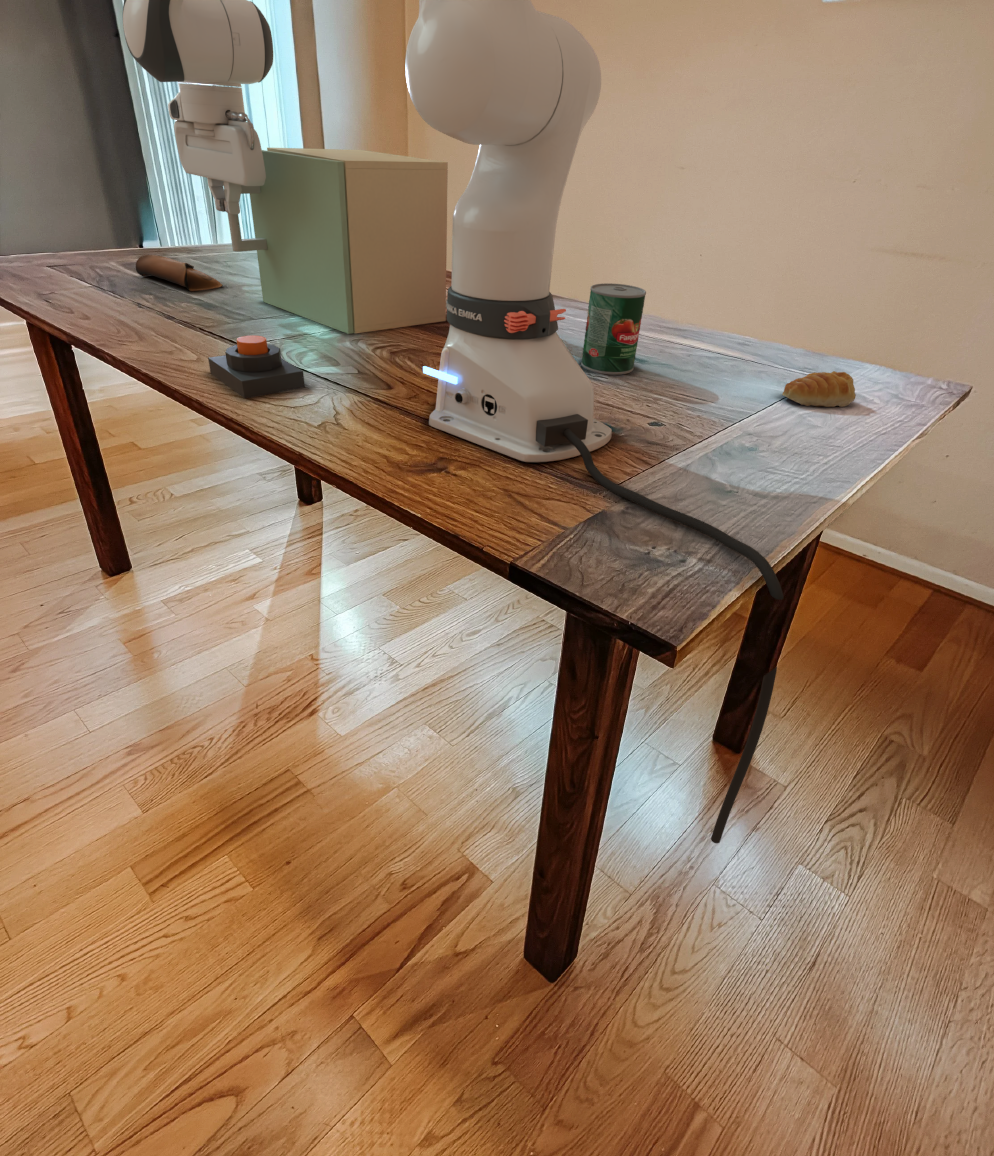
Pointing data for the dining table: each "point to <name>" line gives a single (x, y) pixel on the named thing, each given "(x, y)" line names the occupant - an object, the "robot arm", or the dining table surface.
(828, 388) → the pastry
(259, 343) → the button
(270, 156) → the cupboard door
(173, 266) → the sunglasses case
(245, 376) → the control block
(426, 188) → the cupboard
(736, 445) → the dining table surface
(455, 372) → the robot arm
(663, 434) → the dining table surface
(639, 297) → the canned tomato
